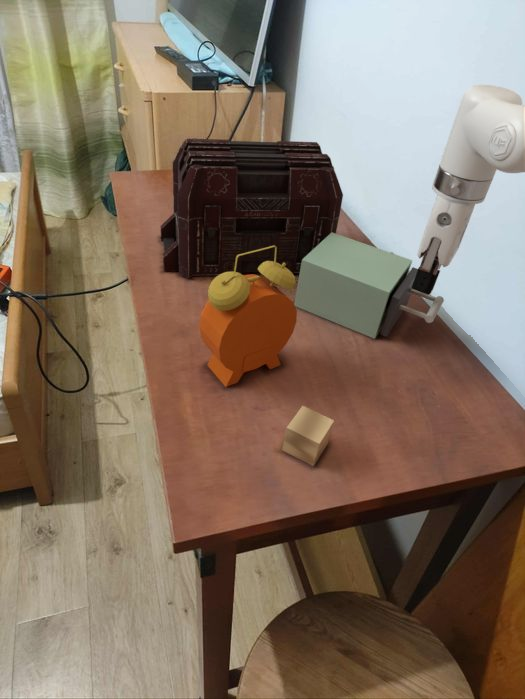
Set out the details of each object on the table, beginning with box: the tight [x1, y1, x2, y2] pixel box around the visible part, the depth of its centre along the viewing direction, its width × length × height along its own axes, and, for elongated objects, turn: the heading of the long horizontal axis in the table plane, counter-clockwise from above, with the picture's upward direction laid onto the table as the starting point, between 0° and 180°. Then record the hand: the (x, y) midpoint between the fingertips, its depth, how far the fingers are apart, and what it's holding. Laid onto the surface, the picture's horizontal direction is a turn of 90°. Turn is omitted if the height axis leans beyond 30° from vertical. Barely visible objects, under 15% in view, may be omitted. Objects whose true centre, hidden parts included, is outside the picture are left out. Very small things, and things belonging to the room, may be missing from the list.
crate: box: [159, 138, 344, 279], centre depth 98 cm, size 35×19×21 cm, turn 101°
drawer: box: [379, 267, 445, 337], centre depth 89 cm, size 20×11×8 cm, turn 60°
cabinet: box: [294, 232, 413, 339], centre depth 90 cm, size 16×13×10 cm
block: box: [281, 405, 335, 467], centre depth 66 cm, size 5×5×5 cm
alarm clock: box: [198, 246, 298, 388], centre depth 72 cm, size 13×6×20 cm, turn 125°
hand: (421, 289), depth 84 cm, fingers closed
